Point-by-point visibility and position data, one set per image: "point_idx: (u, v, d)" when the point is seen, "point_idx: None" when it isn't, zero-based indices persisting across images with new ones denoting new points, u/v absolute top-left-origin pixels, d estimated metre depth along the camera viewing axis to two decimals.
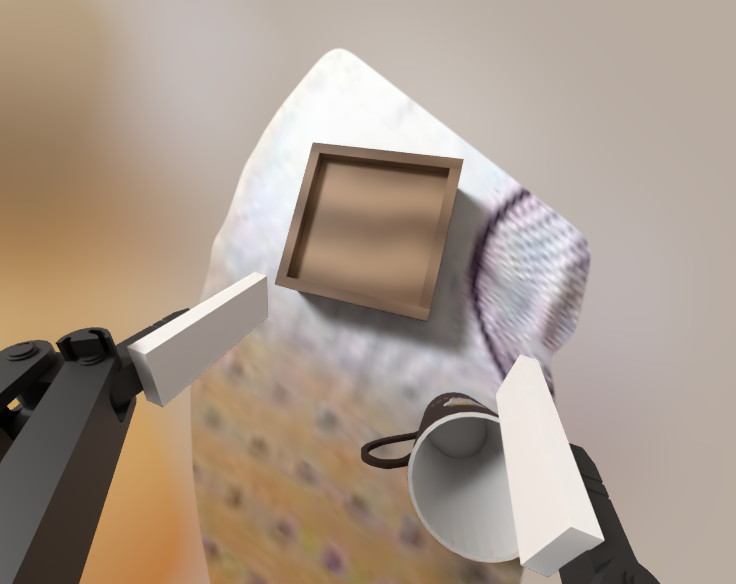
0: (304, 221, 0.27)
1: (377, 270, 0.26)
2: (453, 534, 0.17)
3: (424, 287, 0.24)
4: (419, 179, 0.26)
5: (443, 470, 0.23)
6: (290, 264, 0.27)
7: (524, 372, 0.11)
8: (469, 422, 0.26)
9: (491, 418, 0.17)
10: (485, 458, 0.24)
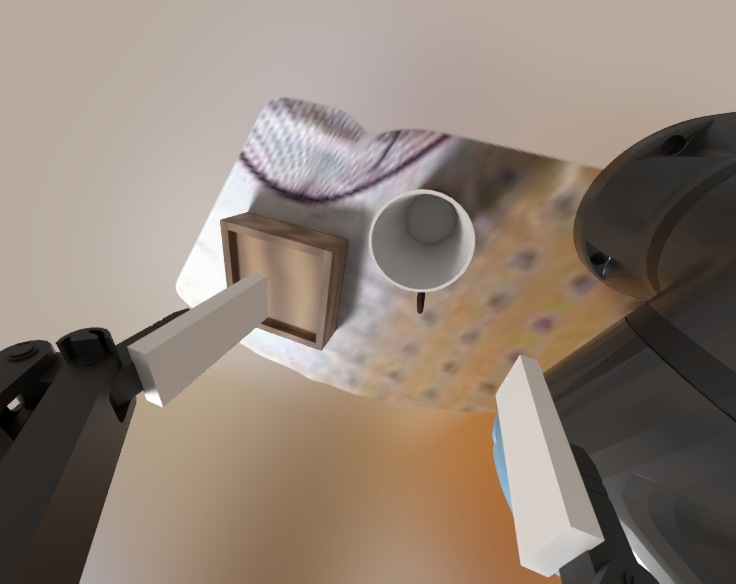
0: (280, 327, 0.39)
1: (305, 282, 0.35)
2: (463, 260, 0.22)
3: (309, 252, 0.31)
4: (240, 248, 0.35)
5: (453, 240, 0.28)
6: (308, 339, 0.38)
7: (524, 372, 0.11)
8: (427, 207, 0.30)
9: (371, 231, 0.23)
10: None
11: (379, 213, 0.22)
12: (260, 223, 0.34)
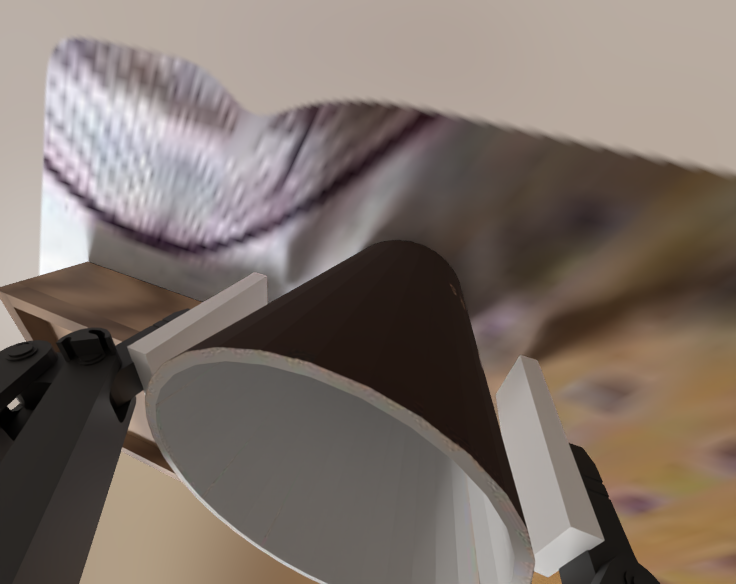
0: (156, 453, 0.23)
1: None
2: (475, 547, 0.06)
3: None
4: (59, 333, 0.19)
5: None
6: None
7: (524, 372, 0.11)
8: None
9: (158, 434, 0.07)
10: None
11: (154, 395, 0.06)
12: (85, 291, 0.18)
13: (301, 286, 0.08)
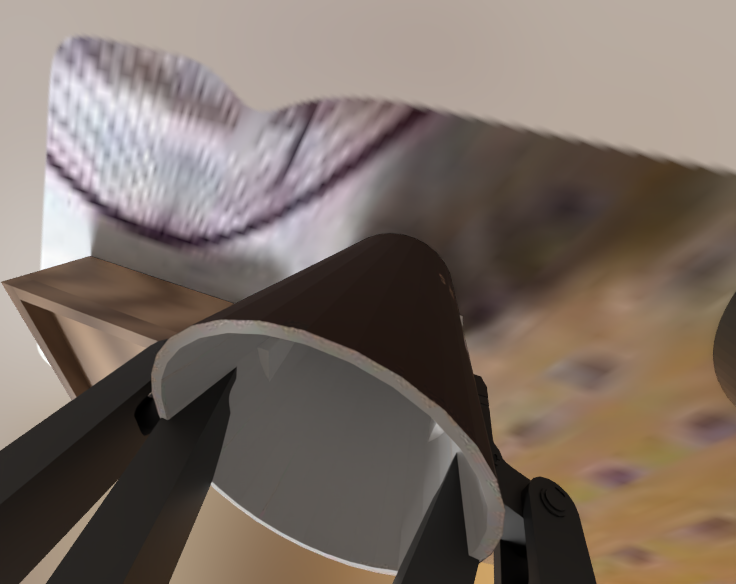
0: None
1: None
2: None
3: None
4: (64, 325, 0.20)
5: None
6: None
7: None
8: None
9: (162, 409, 0.07)
10: None
11: (160, 370, 0.06)
12: (89, 284, 0.19)
13: (297, 273, 0.08)
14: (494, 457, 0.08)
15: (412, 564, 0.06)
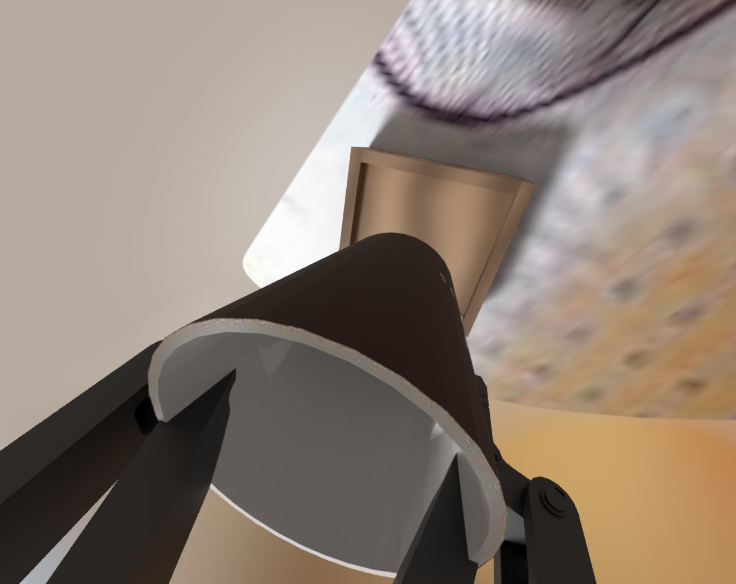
0: None
1: (464, 238, 0.25)
2: None
3: (494, 188, 0.21)
4: (368, 193, 0.25)
5: None
6: None
7: None
8: None
9: (160, 409, 0.07)
10: None
11: (157, 370, 0.06)
12: (402, 155, 0.24)
13: (296, 271, 0.08)
14: None
15: (412, 564, 0.06)
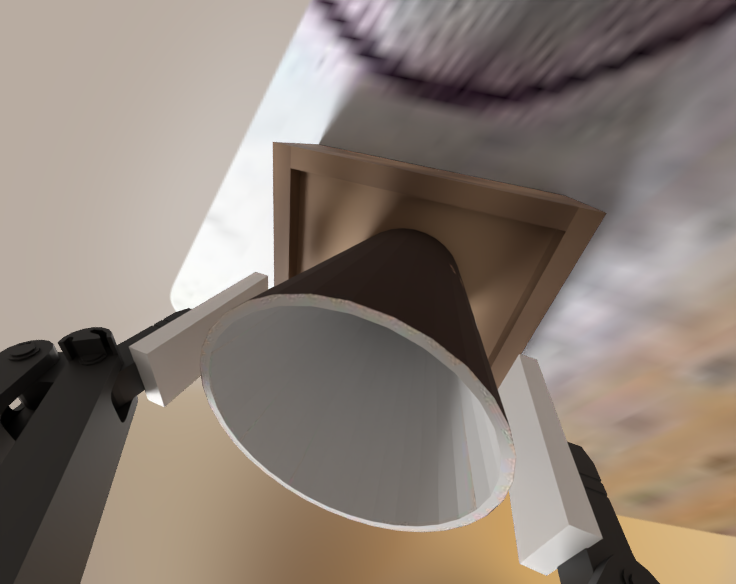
0: None
1: (467, 294, 0.15)
2: (471, 471, 0.08)
3: (523, 218, 0.12)
4: (312, 218, 0.16)
5: None
6: None
7: (523, 371, 0.11)
8: None
9: (207, 381, 0.08)
10: None
11: (211, 343, 0.07)
12: (363, 157, 0.14)
13: (324, 261, 0.09)
14: None
15: None
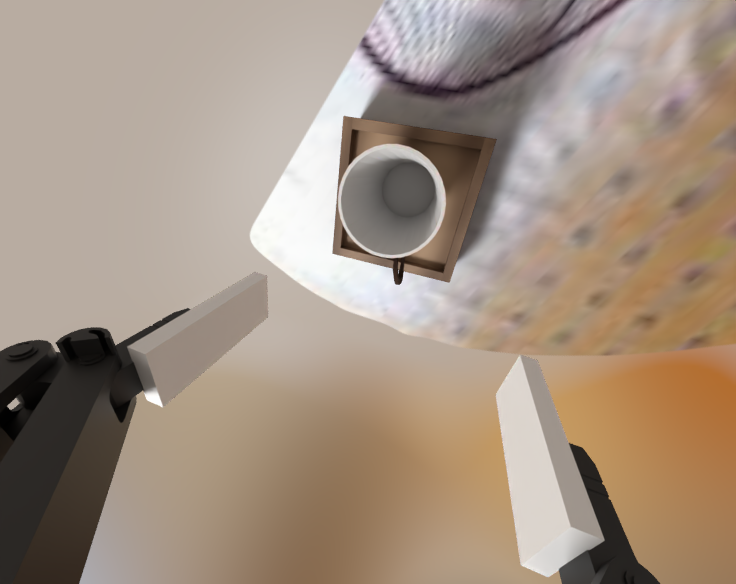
0: None
1: None
2: (436, 221, 0.22)
3: (463, 145, 0.26)
4: None
5: (431, 208, 0.27)
6: (432, 269, 0.32)
7: (524, 372, 0.11)
8: (404, 178, 0.29)
9: (340, 194, 0.22)
10: (425, 167, 0.27)
11: (347, 173, 0.21)
12: None
13: None
14: None
15: None
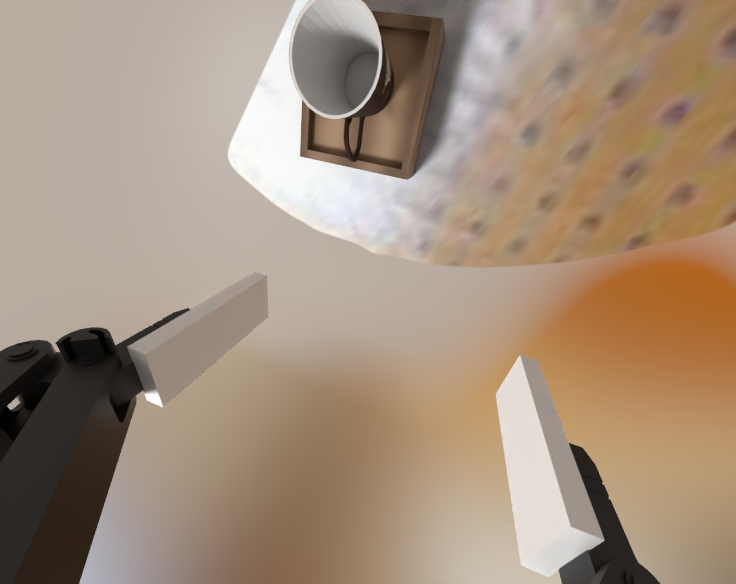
0: (358, 159, 0.35)
1: (397, 85, 0.31)
2: None
3: (413, 27, 0.28)
4: None
5: None
6: (391, 167, 0.34)
7: (524, 372, 0.11)
8: (363, 70, 0.31)
9: (291, 52, 0.24)
10: (379, 52, 0.29)
11: (295, 27, 0.23)
12: None
13: None
14: None
15: None
